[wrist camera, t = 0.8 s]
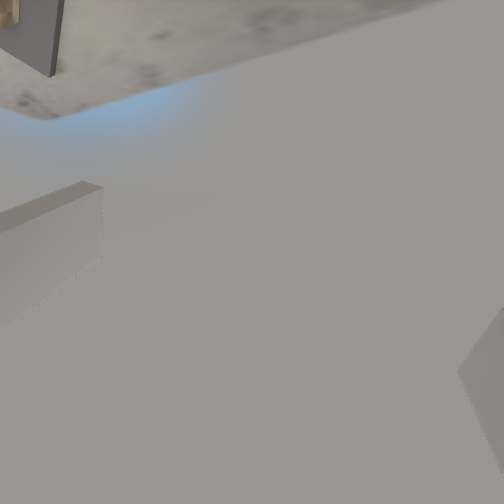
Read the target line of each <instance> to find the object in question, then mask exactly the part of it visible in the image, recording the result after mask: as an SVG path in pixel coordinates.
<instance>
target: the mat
mask: <svg viewBox="0 0 504 504" xmlns="http://www.w3.org/2000/svg"><path fill="white" fill-rule="evenodd" d="M63 6H64V0H20V4H19V23H16V24H13V25H11V26H8V27H5V28H2V29H0V48H1V49H3V50H5V51H6V52H8V53H9V54H11V55H13V56H14V57H16V58H18V59H19V60H21V61H23V62H24V63H26V64H27V65H29V66H31V67H32V68H34V69H36V70H37V71H39V72H41V73H42V74H44V75H45V76H47V77H49V78H50V77H52V76H53V75H55V67H56V60H57V52H58V44H59V36H60V29H61V21H62V13H63Z"/></svg>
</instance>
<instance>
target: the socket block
mask: <svg viewBox="0 0 504 504" xmlns="http://www.w3.org/2000/svg"><path fill="white" fill-rule="evenodd" d="M19 4H20V0H0V29H2V28H5V27H8V26H11V25H13V24H16V23H19Z"/></svg>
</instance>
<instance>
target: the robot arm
mask: <svg viewBox="0 0 504 504" xmlns="http://www.w3.org/2000/svg"><path fill="white" fill-rule="evenodd" d="M103 193H104V187H101V186H97V185H94V184H91V183H88V182H84V181H81V182H79V183H76V184H73V185H71V186H68V187H66V188H63V189H60V190H58V191H55V192H53V193H50V194H47V195H45V196H42V197H40V198H37V199H34V200H32V201H29V202H27V203H24V204H21V205H19V206H16V207H14V208H11V209H8V210H6V211H3V212H0V334H1V333H3V332H4V331H5V330H7V329H8V328H9V327H11V326H12V325H13V324H15V323H16V322H17V321H19V320H20V319H21V318H23V317H24V316H25V315H27V314H28V313H29V312H31V311H32V310H33V309H35V308H36V307H37V306H39V305H40V304H41V303H43V302H44V301H45V300H47V299H48V298H49V297H50V296H52V295H53V294H55V293H56V292H57V291H58V290H60V289H61V288H62V287H64V286H65V285H66V284H68V283H69V282H70V281H72V280H73V279H74V278H76V277H77V276H78V275H80V274H81V273H82V272H84V271H85V270H86V269H88V268H89V267H90V266H92V265H93V264H94V263H96V262H97V261H98V260H100V259H101V258H102V234H103V196H104V195H103ZM457 373H458V375H459V378H460V379H461V382H462V384H463V387H464V389H465V391H466V393H467V396H468V398H469V400H470V402H471V404H472V407H473V409H474V411H475V414H476V416H477V418H478V420H479V422H480V425H481V427H482V429H483V431H484V434H485V436H486V438H487V440H488V443H489V445H490V447H491V449H492V452H493V454H494V456H495V458H496V461H497V463H498V465H499V467H500V469H501V472H502V474H503V476H504V308H502V309H501V310H500V311H499V313H498V314H497V316H496V317H495V318H494V320H493V321H492V323H491V324H490V325H489V327H488V328H487V329H486V331H485V332H484V334H483V335H482V336H481V338H480V339H479V340H478V342H477V343H476V345H475V346H474V347H473V349H472V350H471V351H470V353H469V354H468V356H467V357H466V358H465V360H464V361H463V362H462V364H461V365H460V367H459V368H458V370H457Z"/></svg>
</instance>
